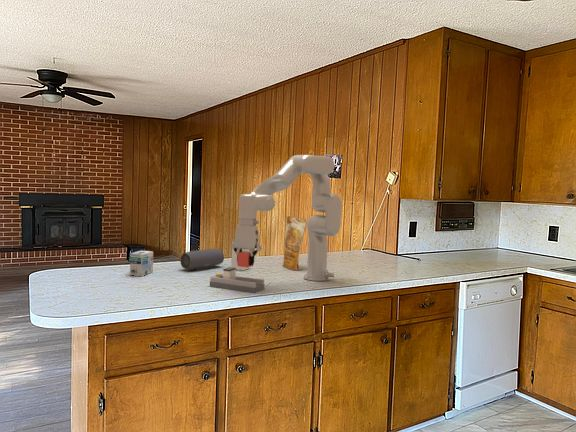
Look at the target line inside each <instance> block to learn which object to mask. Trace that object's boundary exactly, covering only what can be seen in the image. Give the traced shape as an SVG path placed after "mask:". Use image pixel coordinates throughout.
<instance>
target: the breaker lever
mask: <svg viewBox="0 0 576 432" xmlns="http://www.w3.org/2000/svg"><path fill="white" fill-rule="evenodd" d="M236 272H237V271H236V268H234V267H231V266H229V267H226V268H223V272H222V274H223V278H225V279H232V280H235V277H236V276H237V275H236Z"/></svg>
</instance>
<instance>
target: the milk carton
mask: <svg viewBox="0 0 576 432" xmlns="http://www.w3.org/2000/svg"><path fill="white" fill-rule="evenodd" d="M234 241H235V238H234V239H233V240H232V241H231V244H232V243H233V242H234ZM242 251H247V252H250V251H249V249H243V250H242ZM230 261H231V262H230V263H231V266H230V267H234V268H236V270H237V271H245V270H248V269H249V268H250V267H248V268H247V267H240V266H238V264H237V254H236V252H235V251H234V249H233V248H232V247H231V260H230Z"/></svg>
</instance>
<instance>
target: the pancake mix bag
mask: <svg viewBox="0 0 576 432" xmlns="http://www.w3.org/2000/svg"><path fill="white" fill-rule="evenodd" d="M285 219H286V224H285V225H286V226H285V237H284V252H283V253H284V254H283V264H282V266H283V267H284V268H285V269H288V270H290V271H299V268H300V267H299V258H300V252H301V247H302V242H303V239H304V233H305V230H306V227H307V220H306V219H304V218H300V217H299V218H298V217H295V216H286V218H285Z"/></svg>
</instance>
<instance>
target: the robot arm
mask: <svg viewBox="0 0 576 432" xmlns="http://www.w3.org/2000/svg"><path fill="white" fill-rule="evenodd" d="M335 166H336V165H335V162H334V159H333V158H332V157H330V156H328V155H327V156H326V155H313V154H296V155H295V154H294V155H293V156H291V157H289V159H288V160H287V161H286V162H285V163H284V164H283V166H282V167H280V168H279V170H278V171H277V172H276V173H275V174H274V175H273V176H271V177H268V178H267V179H265V180H264V181H263V182H261V183H259V185H257V186H256V187H255V188H254V189H253V190H252V191H251V192H250V193H242V194H240V195H239V198H238V200H239V202H238V203H239V204H238V223H237V225H236V228H235V234H234V239H235V241H234V242H233V243H232V242H231V244H230V247H231V249H232V248H233V249H234V251H235V252H236V254H237V264H238V252H242V250H243V249H249V252H250V256H249V265H250V266H251V265H253V266H254V263H255V256H256V255H257V254H259V252H261V251H262V246H261V245H260V234H259V233H260V232H259V227H258V226H257V225H258V224H259V220H257V211H260V212H270V211H272V210H273V209H274V208H275V206H276V201H275V198H274V196H272V195H273V194H276V193H278V192H282V191H285V190H286V189H288V188H290V187H291V185H292V184H293V183H294V182H295V181H296V180H297V178H299V176H301V174H308V175H309V176H310V178H311V180H312V195H311V196H312V197H311V207H312V210H313V211H315V212H319V213H324V214H325V215H322V214H314V215H312V216H310V217H309V218H308V219H307V221H306V227H307V229H306V230H307V235H308V245H307V247H308V248H307V250H308V251H307V269H306V271H307V272H306V274H304V275H303V278H304V279H305V280H307V281H313V282H326V281H329V280H330V278H335V273H334V272H329V269H327V268H328V267H327V266H328V248H329V245H328V244H329V242H328V238H327V237H335V236H336V235H338V234H339V232H340V229H341V224H342V216H343V215H342V214H343V213H342V212H343V203H342V202H343V201H342V199H341V197H340V196H339V195H338V194H336V193H332V192H331V179H330V177H329V175H330V174H331V173H333V171H334V169H335ZM251 267H252V266H251Z"/></svg>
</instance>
